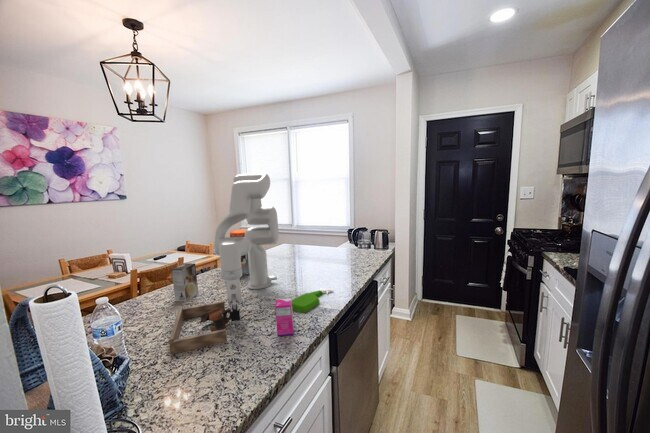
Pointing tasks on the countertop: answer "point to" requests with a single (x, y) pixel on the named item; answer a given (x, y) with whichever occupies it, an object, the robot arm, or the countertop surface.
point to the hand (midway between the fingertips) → (235, 314)
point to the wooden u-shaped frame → (197, 340)
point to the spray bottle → (308, 300)
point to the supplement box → (284, 317)
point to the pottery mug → (217, 318)
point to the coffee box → (185, 281)
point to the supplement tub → (245, 257)
